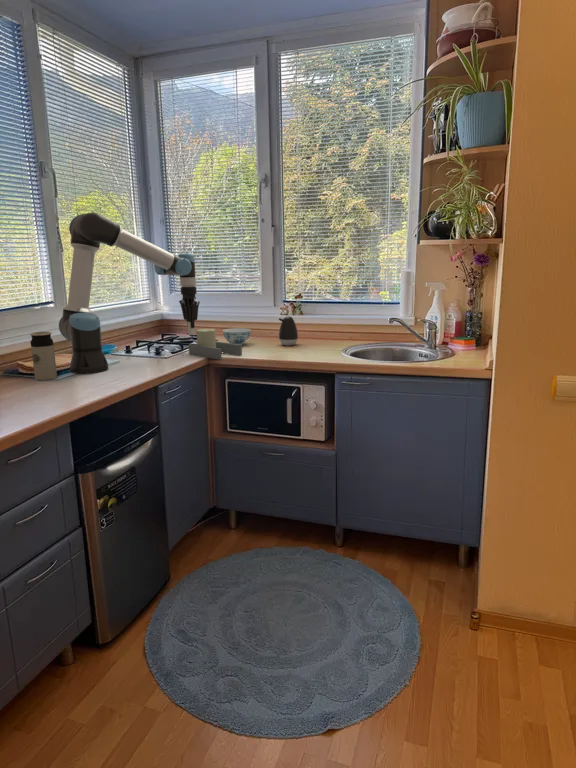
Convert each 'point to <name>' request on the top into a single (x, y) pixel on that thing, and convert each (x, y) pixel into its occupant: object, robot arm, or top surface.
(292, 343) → the pump dispenser
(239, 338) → the chinaware
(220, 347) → the channel
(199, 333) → the can
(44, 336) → the travel mug
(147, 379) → the top surface
